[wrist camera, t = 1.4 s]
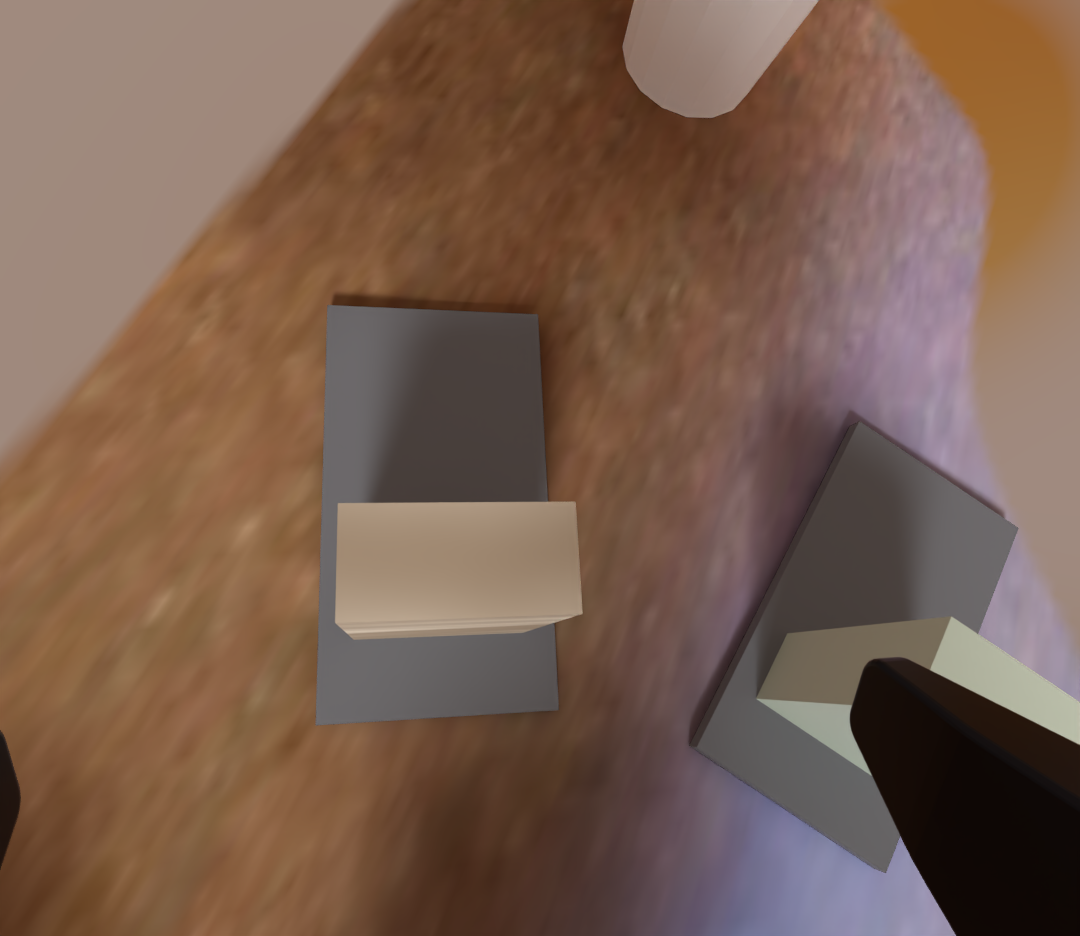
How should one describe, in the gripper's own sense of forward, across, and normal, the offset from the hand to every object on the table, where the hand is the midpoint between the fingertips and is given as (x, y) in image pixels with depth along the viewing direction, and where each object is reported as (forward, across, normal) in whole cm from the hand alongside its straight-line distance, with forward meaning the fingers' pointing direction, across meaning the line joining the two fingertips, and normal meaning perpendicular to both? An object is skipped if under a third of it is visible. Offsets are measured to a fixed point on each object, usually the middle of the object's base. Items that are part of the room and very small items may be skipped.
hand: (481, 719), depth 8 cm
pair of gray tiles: (+14, -9, +7) cm, 18 cm away
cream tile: (+13, 0, +7) cm, 15 cm away
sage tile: (+10, -13, +10) cm, 20 cm away
